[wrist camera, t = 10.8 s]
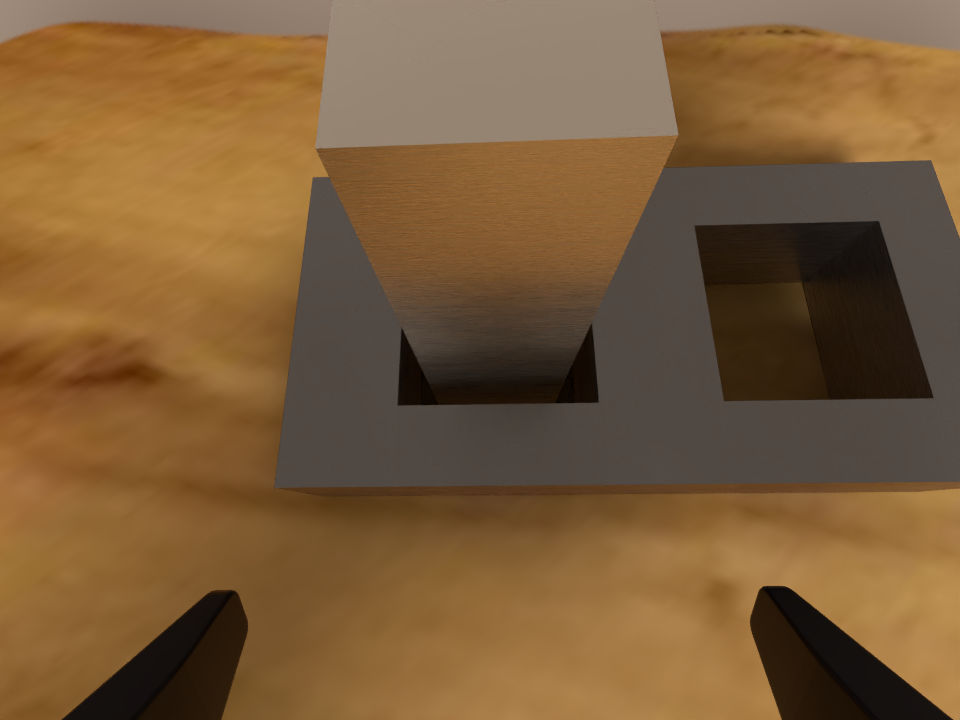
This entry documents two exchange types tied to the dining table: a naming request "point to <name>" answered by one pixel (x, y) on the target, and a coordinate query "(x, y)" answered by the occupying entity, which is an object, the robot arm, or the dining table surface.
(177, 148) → the dining table surface
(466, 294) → the peg
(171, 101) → the dining table surface
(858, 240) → the grey flat block
